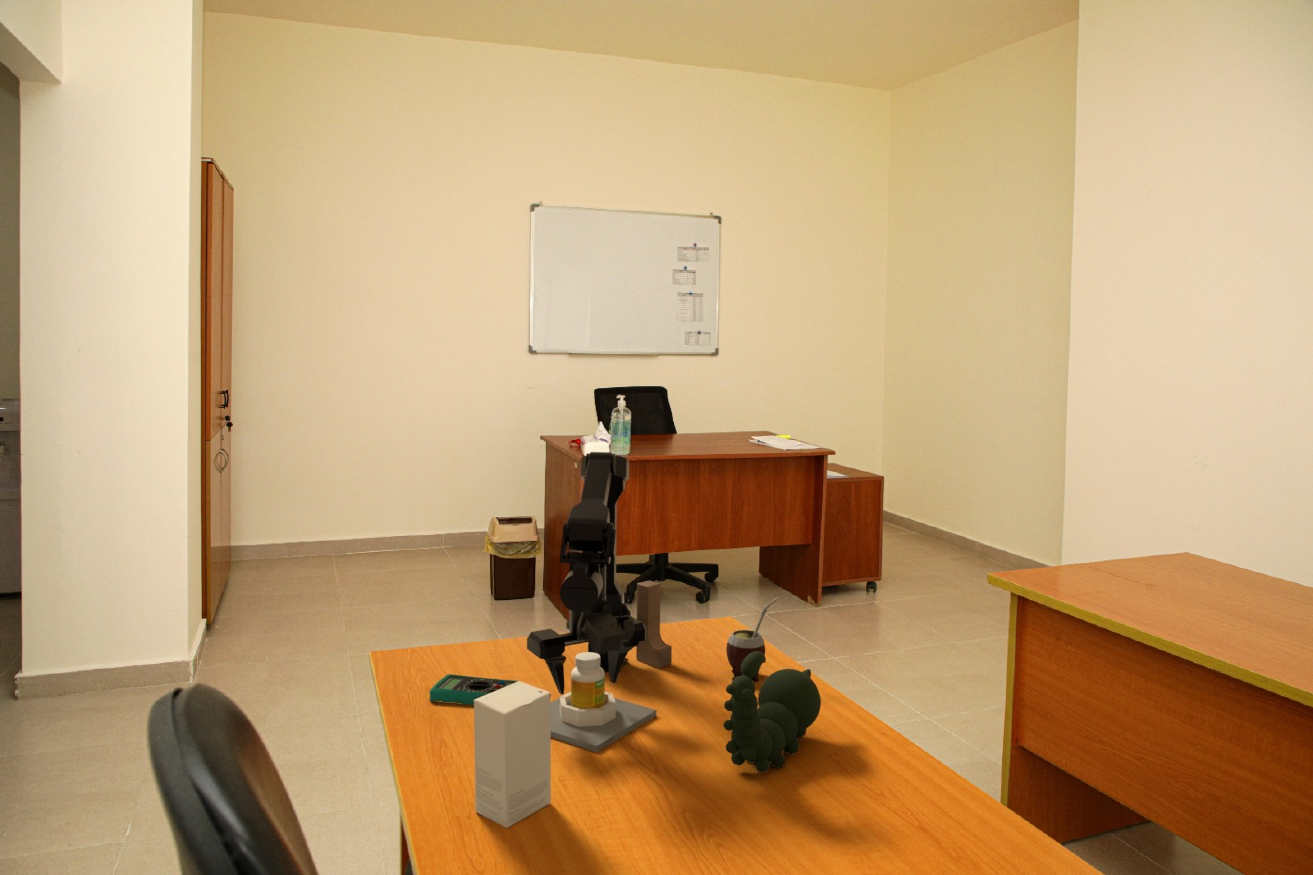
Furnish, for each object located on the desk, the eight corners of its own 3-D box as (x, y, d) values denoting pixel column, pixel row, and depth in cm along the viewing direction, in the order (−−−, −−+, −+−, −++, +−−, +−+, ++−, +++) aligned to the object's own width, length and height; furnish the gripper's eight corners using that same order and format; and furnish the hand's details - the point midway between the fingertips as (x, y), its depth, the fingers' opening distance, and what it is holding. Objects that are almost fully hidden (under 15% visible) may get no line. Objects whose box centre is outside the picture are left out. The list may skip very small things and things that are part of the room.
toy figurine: (769, 805, 124) (837, 724, 144) (767, 676, 120) (837, 612, 141) (708, 786, 129) (783, 711, 149) (705, 661, 125) (782, 602, 146)
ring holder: (579, 693, 157) (579, 673, 157) (656, 715, 148) (656, 695, 148) (516, 725, 144) (516, 704, 143) (596, 752, 135) (596, 730, 134)
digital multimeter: (511, 712, 150) (511, 695, 150) (427, 704, 153) (427, 687, 152) (526, 695, 157) (526, 679, 157) (445, 687, 160) (445, 671, 160)
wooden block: (635, 659, 174) (636, 583, 172) (648, 655, 176) (649, 580, 174) (659, 669, 169) (660, 590, 167) (671, 664, 171) (673, 587, 169)
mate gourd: (717, 675, 166) (719, 595, 164) (747, 665, 171) (749, 588, 169) (748, 688, 160) (750, 605, 159) (777, 677, 166) (779, 597, 164)
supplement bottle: (599, 723, 143) (599, 663, 142) (566, 719, 144) (566, 660, 143) (607, 709, 148) (608, 651, 147) (576, 706, 149) (576, 649, 148)
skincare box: (520, 788, 124) (520, 678, 122) (554, 805, 120) (554, 691, 118) (472, 813, 117) (471, 697, 116) (506, 831, 113) (505, 711, 112)
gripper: (555, 615, 132) (555, 718, 134) (665, 598, 141) (663, 694, 143) (525, 596, 141) (525, 692, 143) (629, 581, 151) (628, 671, 153)
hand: (587, 688), depth 145 cm, fingers open, 9 cm apart
